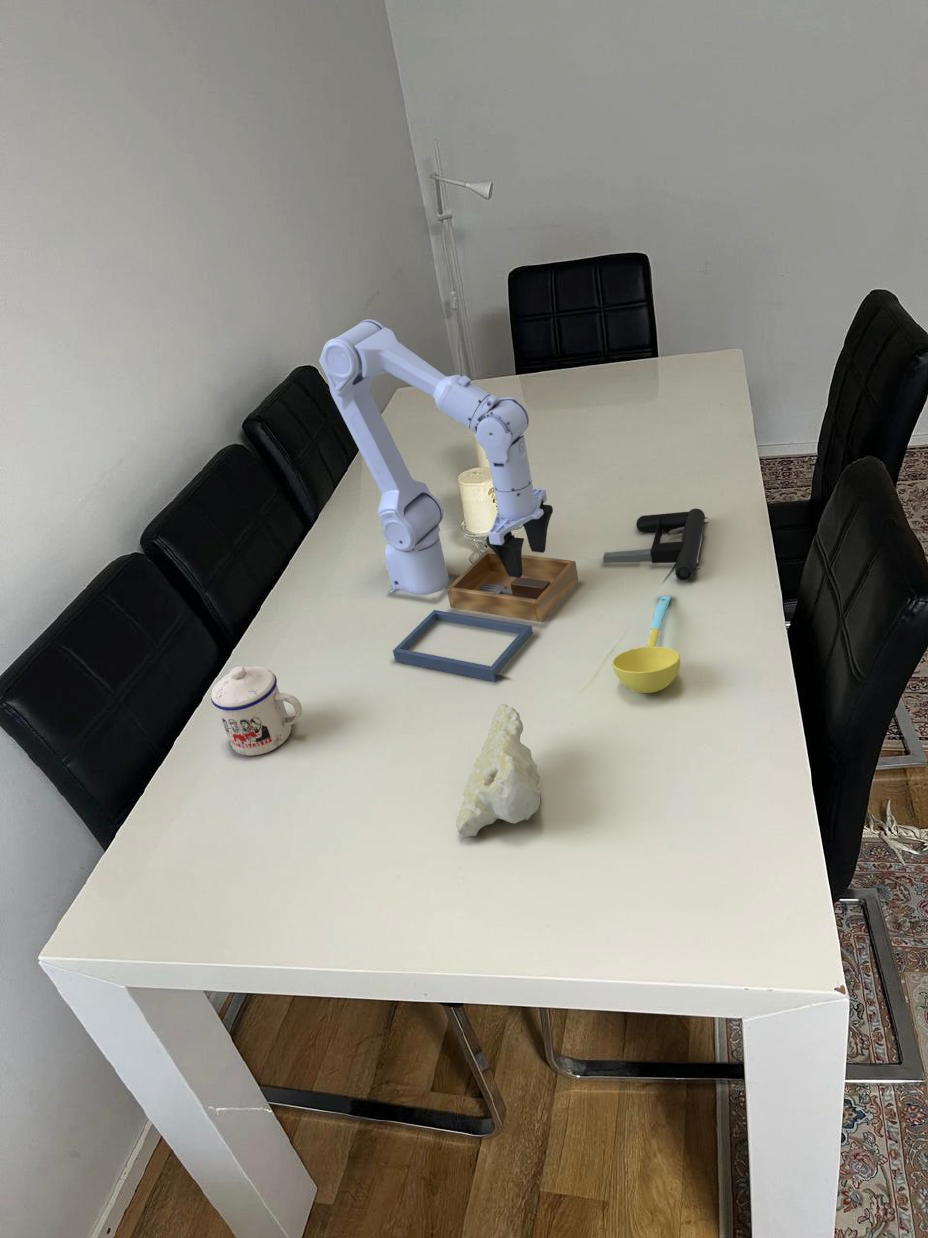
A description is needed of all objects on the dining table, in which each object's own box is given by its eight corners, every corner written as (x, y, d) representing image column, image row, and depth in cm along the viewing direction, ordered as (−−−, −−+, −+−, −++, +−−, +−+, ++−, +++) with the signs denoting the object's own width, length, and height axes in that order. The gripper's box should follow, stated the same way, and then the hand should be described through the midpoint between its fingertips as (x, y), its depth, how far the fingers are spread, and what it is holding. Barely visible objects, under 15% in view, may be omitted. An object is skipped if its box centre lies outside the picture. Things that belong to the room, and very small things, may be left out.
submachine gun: (595, 571, 154) (699, 564, 148) (616, 512, 169) (711, 503, 163) (599, 589, 155) (702, 583, 149) (619, 529, 171) (713, 521, 165)
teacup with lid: (220, 758, 135) (192, 691, 129) (246, 716, 143) (220, 651, 137) (299, 758, 132) (274, 689, 126) (321, 715, 139) (299, 648, 133)
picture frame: (395, 661, 147) (392, 650, 146) (436, 620, 155) (433, 609, 154) (495, 682, 138) (492, 670, 137) (533, 637, 146) (531, 625, 145)
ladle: (610, 705, 127) (605, 664, 126) (641, 631, 151) (637, 595, 149) (679, 704, 124) (674, 662, 122) (699, 628, 148) (696, 592, 146)
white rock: (517, 875, 110) (588, 761, 109) (464, 848, 107) (535, 731, 107) (483, 824, 124) (545, 723, 124) (435, 799, 122) (497, 696, 122)
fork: (553, 594, 154) (550, 580, 152) (545, 603, 152) (543, 588, 151) (484, 585, 160) (482, 571, 159) (477, 592, 159) (474, 579, 157)
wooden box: (451, 611, 157) (446, 589, 154) (490, 572, 165) (486, 550, 163) (542, 626, 148) (538, 602, 146) (579, 584, 156) (575, 560, 154)
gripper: (512, 508, 137) (527, 590, 144) (558, 463, 147) (571, 543, 154) (469, 504, 141) (486, 584, 148) (518, 461, 151) (531, 538, 158)
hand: (527, 563), depth 151 cm, fingers open, 7 cm apart
